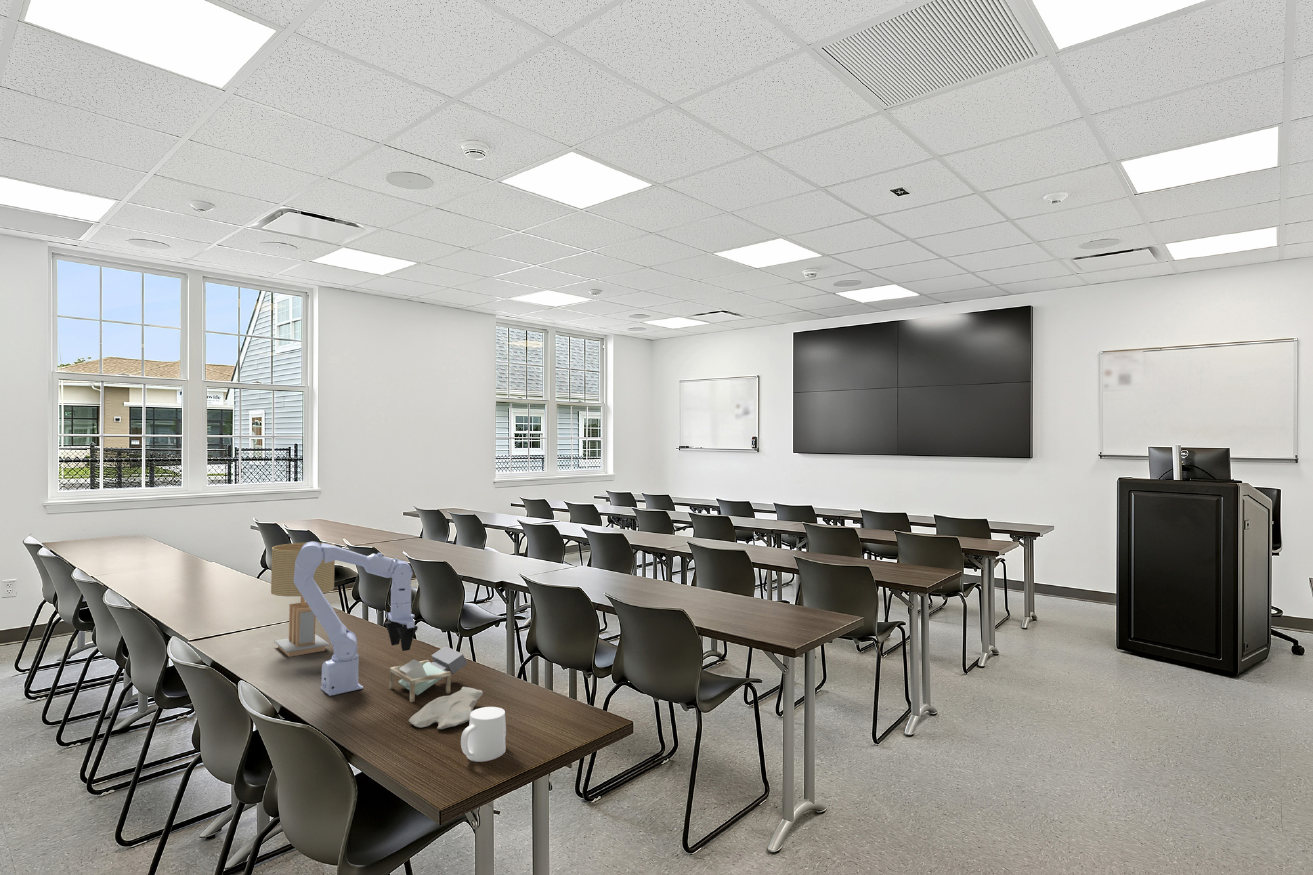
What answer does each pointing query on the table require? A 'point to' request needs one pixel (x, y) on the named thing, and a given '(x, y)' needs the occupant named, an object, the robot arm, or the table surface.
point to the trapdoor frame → (417, 679)
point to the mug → (485, 734)
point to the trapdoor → (439, 667)
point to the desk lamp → (301, 613)
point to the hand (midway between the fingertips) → (400, 647)
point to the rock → (448, 709)
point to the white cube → (413, 670)
